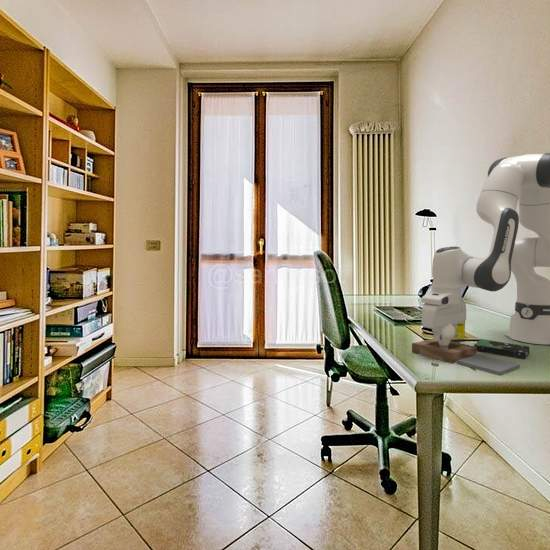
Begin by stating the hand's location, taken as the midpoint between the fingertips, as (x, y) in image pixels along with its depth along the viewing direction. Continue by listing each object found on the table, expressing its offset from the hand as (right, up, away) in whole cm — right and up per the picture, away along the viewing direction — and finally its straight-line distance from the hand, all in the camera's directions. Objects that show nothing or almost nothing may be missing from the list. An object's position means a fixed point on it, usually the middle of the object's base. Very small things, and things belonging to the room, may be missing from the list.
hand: (444, 338), depth 118 cm
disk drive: (+21, -6, +4) cm, 22 cm away
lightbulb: (0, -5, 0) cm, 5 cm away
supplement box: (+12, -4, +20) cm, 23 cm away
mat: (+8, -6, -11) cm, 15 cm away
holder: (0, -5, 0) cm, 5 cm away
